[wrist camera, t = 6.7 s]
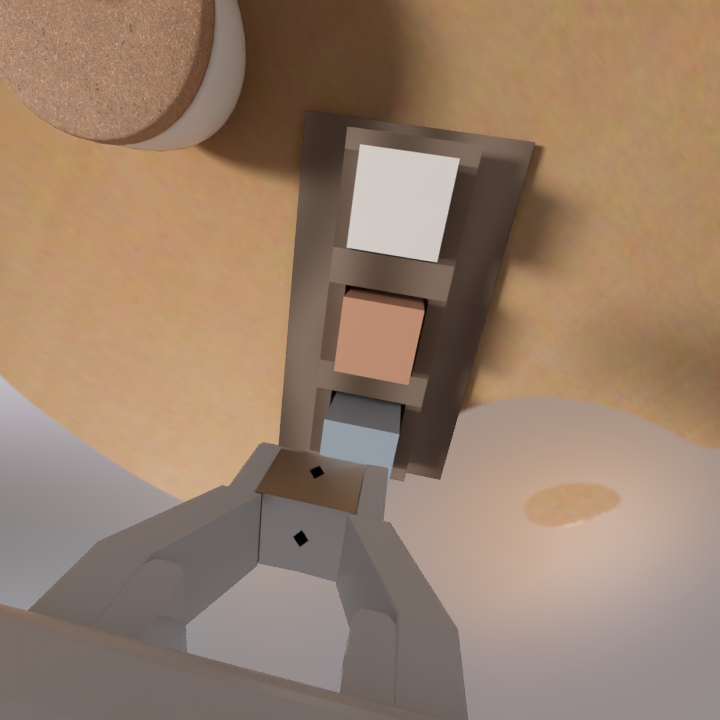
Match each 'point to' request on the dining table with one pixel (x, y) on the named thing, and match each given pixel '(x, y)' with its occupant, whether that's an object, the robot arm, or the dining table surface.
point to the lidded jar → (126, 67)
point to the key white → (401, 202)
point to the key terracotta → (378, 334)
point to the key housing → (395, 281)
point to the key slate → (361, 430)
